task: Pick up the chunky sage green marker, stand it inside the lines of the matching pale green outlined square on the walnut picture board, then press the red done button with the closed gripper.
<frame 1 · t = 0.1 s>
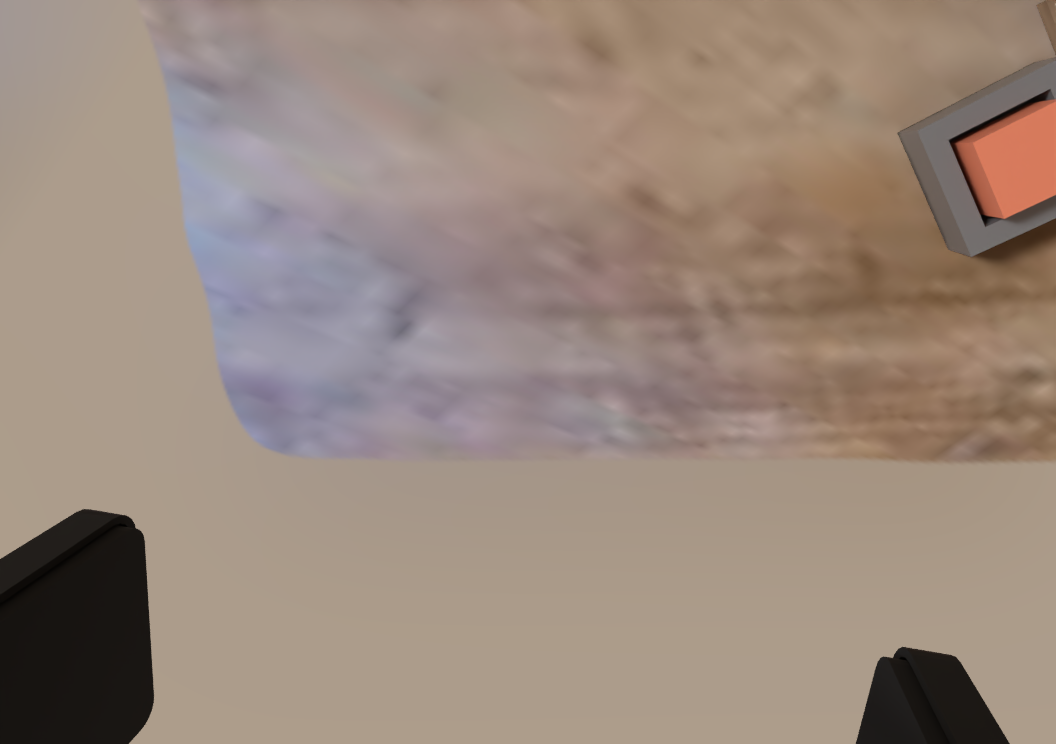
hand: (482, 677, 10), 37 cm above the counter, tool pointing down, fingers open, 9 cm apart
button housing: (989, 159, 40), on the counter
done button: (1017, 159, 37), point 3 cm above the counter, slide at 0.0 cm
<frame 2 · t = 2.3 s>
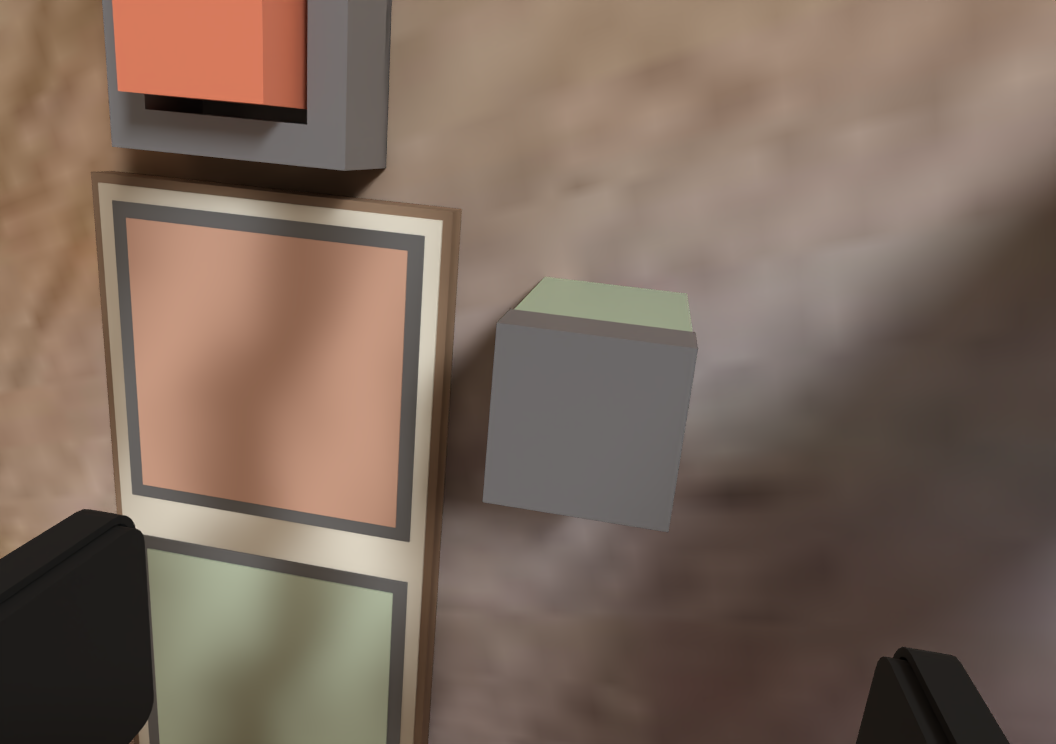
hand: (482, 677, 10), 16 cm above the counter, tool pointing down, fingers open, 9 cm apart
button housing: (280, 38, 23), on the counter
done button: (222, 21, 20), point 3 cm above the counter, slide at 0.0 cm
picture board: (282, 522, 28), on the counter
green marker: (606, 353, 24), on the counter
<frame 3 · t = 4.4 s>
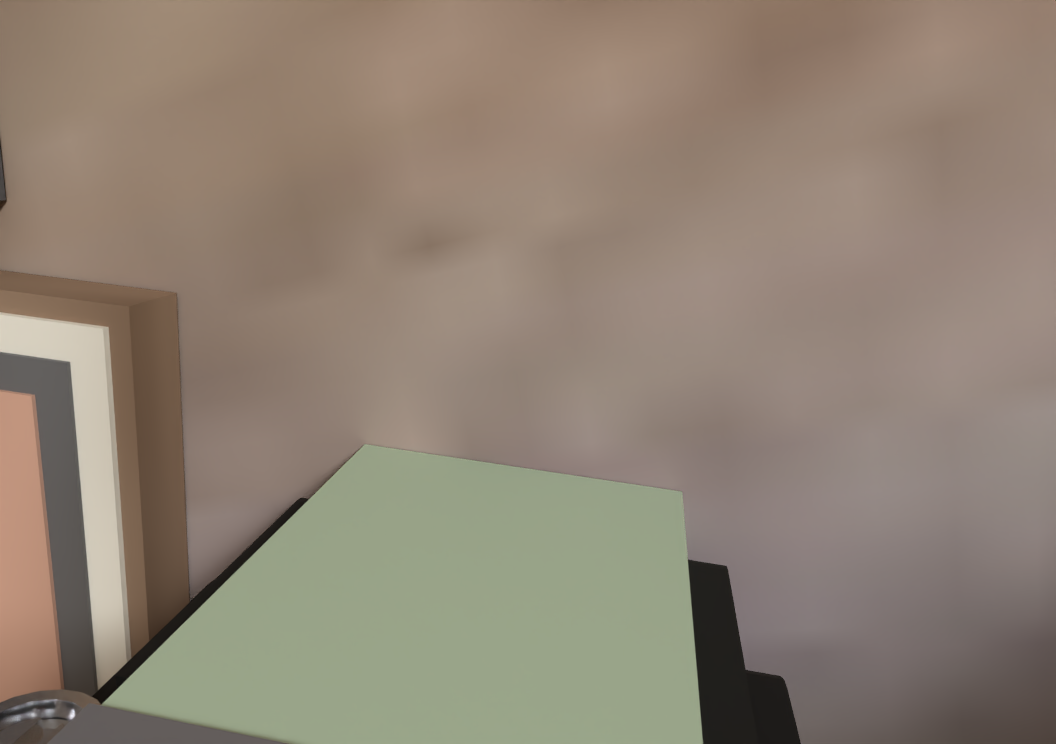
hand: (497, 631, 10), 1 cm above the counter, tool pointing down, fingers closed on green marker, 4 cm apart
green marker: (505, 607, 11), on the counter, touching gripper
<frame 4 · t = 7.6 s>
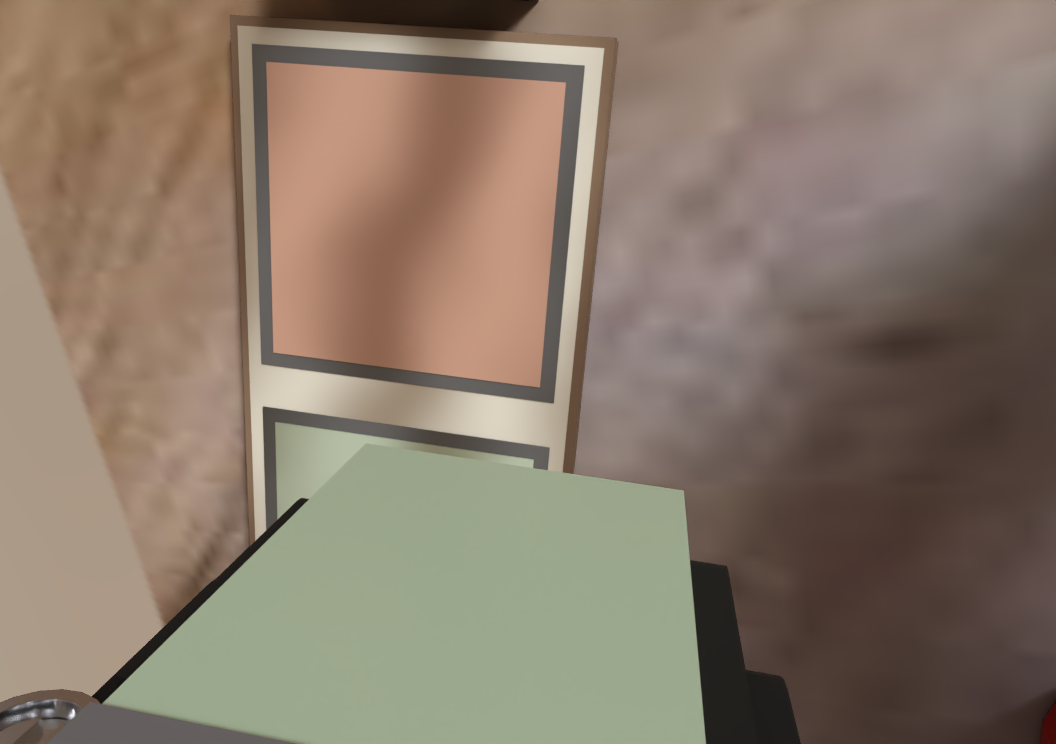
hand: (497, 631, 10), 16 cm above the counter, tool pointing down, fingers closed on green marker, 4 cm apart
picture board: (413, 394, 27), on the counter
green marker: (507, 606, 11), point 15 cm above the counter, touching gripper
when the fingers open (3 cm above the counter, at t = 11.2 s): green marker drops 1 cm, resting on picture board.
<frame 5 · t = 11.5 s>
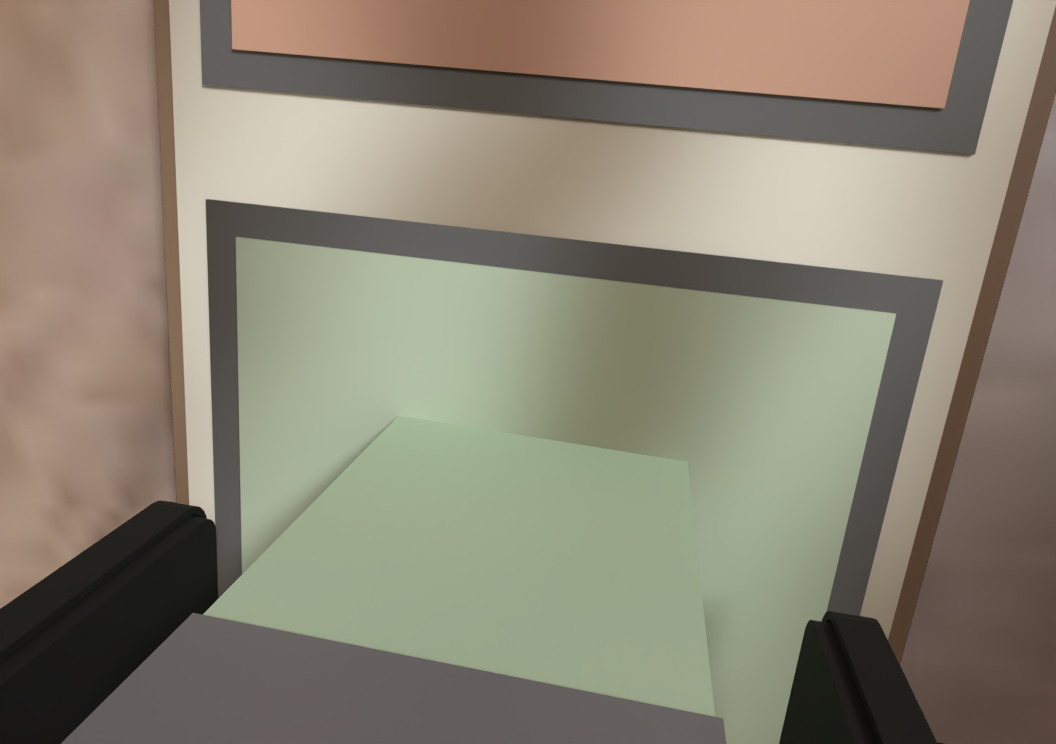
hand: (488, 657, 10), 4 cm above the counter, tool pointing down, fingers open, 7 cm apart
picture board: (566, 176, 12), on the counter
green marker: (524, 566, 12), point 1 cm above the counter, touching picture board
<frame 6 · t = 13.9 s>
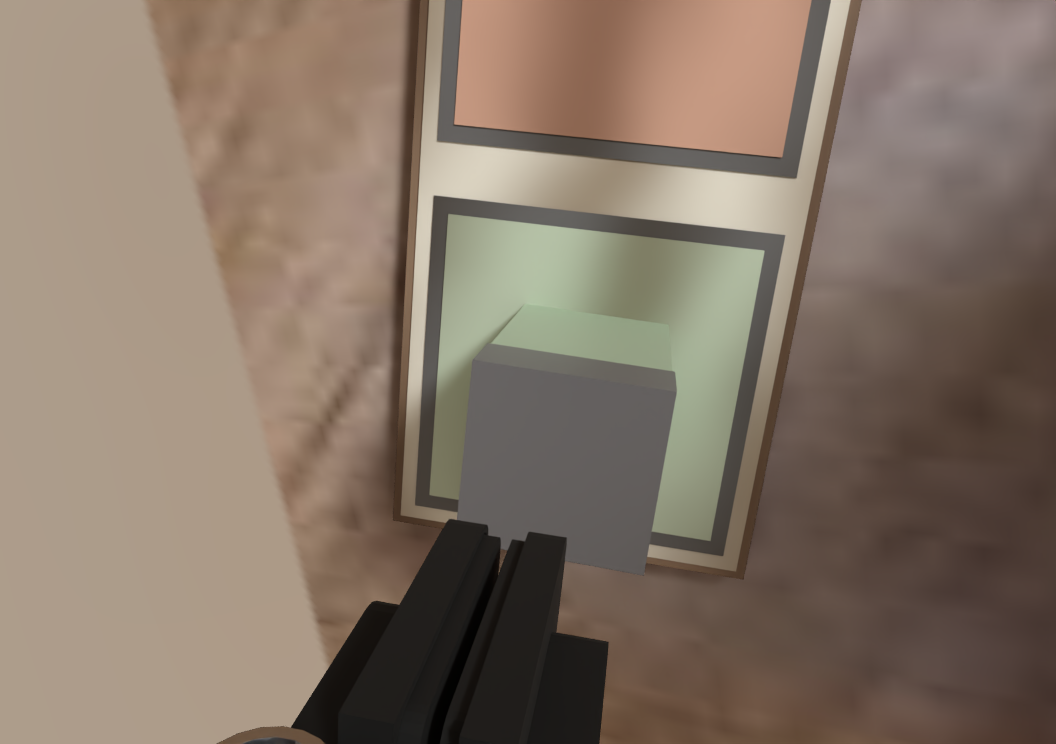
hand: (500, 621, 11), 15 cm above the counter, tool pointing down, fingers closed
picture board: (610, 185, 23), on the counter
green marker: (586, 382, 24), point 1 cm above the counter, touching picture board
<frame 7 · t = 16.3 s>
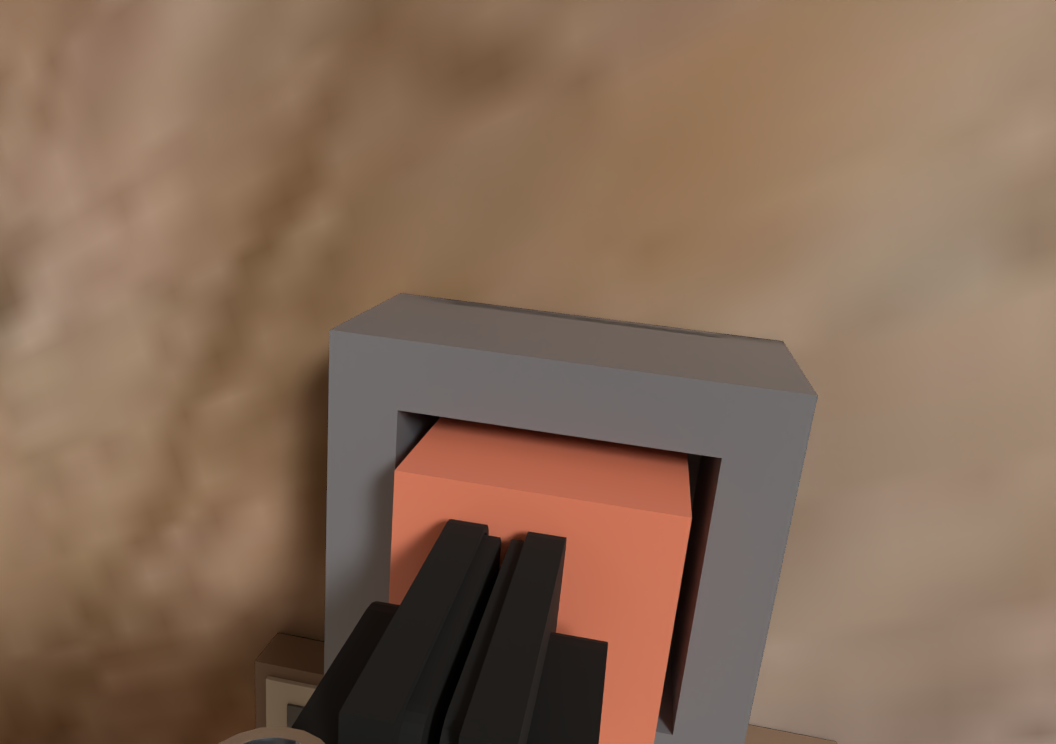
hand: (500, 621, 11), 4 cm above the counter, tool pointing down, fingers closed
button housing: (565, 491, 15), on the counter
done button: (543, 565, 12), point 3 cm above the counter, slide at 0.4 cm, touching gripper
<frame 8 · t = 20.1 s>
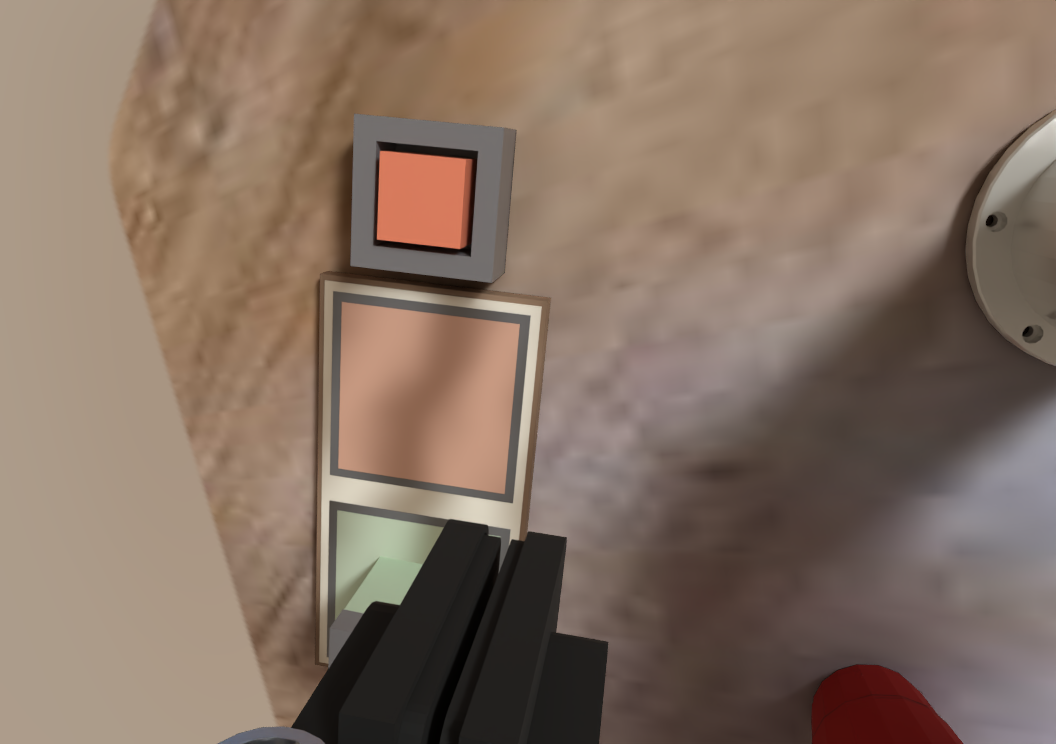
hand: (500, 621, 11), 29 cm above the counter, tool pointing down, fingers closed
button housing: (442, 196, 38), on the counter
plastic cup: (866, 707, 43), on the counter
done button: (430, 198, 36), point 2 cm above the counter, slide at 1.0 cm
picture board: (425, 493, 43), on the counter
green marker: (415, 597, 44), point 1 cm above the counter, touching picture board
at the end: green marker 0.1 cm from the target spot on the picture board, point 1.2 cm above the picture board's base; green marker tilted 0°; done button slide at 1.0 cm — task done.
